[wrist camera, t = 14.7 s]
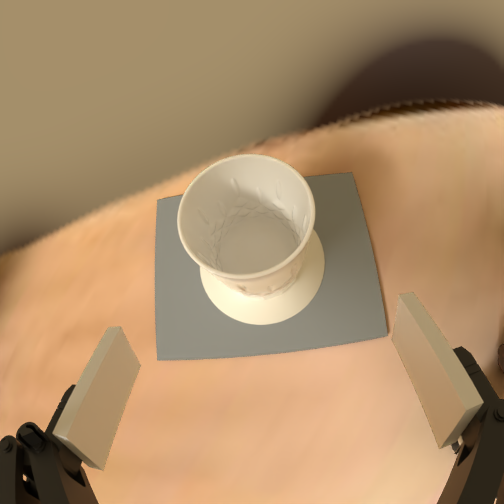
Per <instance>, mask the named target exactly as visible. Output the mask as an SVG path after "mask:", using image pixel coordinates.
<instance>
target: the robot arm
mask: <svg viewBox="0 0 504 504" xmlns="http://www.w3.org/2000/svg"><path fill="white" fill-rule="evenodd" d="M392 341H393V343H394V345H395V347H396V349H397V351H398V353H399V355H400V358H401V360H402V362H403V364H404V366H405V368H406V370H407V373H408V375H409V377H410V379H411V381H412V384H413V386H414V388H415V390H416V393H417V395H418V397H419V400H420V402H421V404H422V407H423V409H424V411H425V414H426V416H427V419H428V421H429V424H430V426H431V429H432V431H433V434H434V436H435V439H436V442H437V444H438V447H439V449H441V448H443V447H446V446H448V445H450V444H453V443H455V442H456V441H457V440H458V438H459V437H460V436H462V438H463V440H464V441H463V442H462V444H461V445H460V446H459V447H458V449H457V450H456V452H455V453H454V454H457V453H458V452H459V453H458V456H457V459H456V461H455V464H454V466H453V469H452V471H451V474H450V476H449V479H448V481H447V483H446V485H445V488H444V490H443V492H442V494H441V496H440V498H439V500H438V502H437V504H494V501H495V498H496V495H497V501H496V504H504V399H499V397H498V396H497V395H496V393H495V391H494V390H493V388H492V386H491V384H490V383H489V381H488V380H487V378H486V376H485V375H484V373H483V371H481V368H480V367H479V365H478V364H477V362H476V361H475V359H474V357H473V356H472V354H471V353H470V352H468V351H467V350H466V349H464V348H463V347H462V346H461V347H458V348H455V349H452V348H451V346H450V345H449V343H448V342H447V340H446V339H445V337H444V336H443V334H442V333H441V331H440V330H439V328H438V327H437V325H436V324H435V322H434V321H433V319H432V318H431V316H430V315H429V314H428V312H427V311H426V309H425V308H424V306H423V305H422V304H421V302H420V301H419V299H418V298H417V297H416V295H415V294H414V293H413V292H411V293H406V294H401V295H399V297H398V304H397V311H396V317H395V324H394V330H393V335H392ZM140 367H141V365H140V363H139V361H138V359H137V357H136V355H135V353H134V352H133V350H132V348H131V346H130V344H129V342H128V340H127V338H126V336H125V334H124V332H123V330H122V328H121V327H108V329H107V330H106V332H105V334H104V336H103V337H102V339H101V341H100V342H99V344H98V346H97V348H96V349H95V351H94V353H93V355H92V357H91V358H90V360H89V362H88V364H87V366H86V367H85V369H84V371H83V373H82V375H81V377H80V379H79V380H78V382H77V384H76V385H72V386H71V387H70V388H69V389H68V390H67V391H66V392H65V393H64V395H63V397H62V399H61V402H60V403H59V405H58V409H56V411H55V413H54V415H53V417H52V419H51V421H50V423H49V425H48V427H47V429H46V431H45V433H44V432H43V431H42V430H41V429H40V428H39V427H38V426H37V425H36V424H35V423H33V422H27V423H25V424H23V425H22V426H21V427H20V428H19V429H18V431H17V433H16V438H14V437H13V436H10V435H8V436H5V437H4V438H3V439H2V440H1V441H0V504H98V501H97V499H96V497H95V495H94V493H93V490H92V488H91V486H90V483H89V481H88V479H87V476H86V474H85V471H84V469H83V468H82V466H81V463H82V461H83V462H84V463H85V464H87V465H88V466H89V467H91V468H95V469H99V470H103V471H104V467H105V464H106V461H107V458H108V455H109V452H110V449H111V446H112V443H113V440H114V437H115V434H116V431H117V428H118V426H119V423H120V420H121V417H122V414H123V412H124V409H125V406H126V403H127V401H128V398H129V395H130V393H131V390H132V387H133V385H134V382H135V379H136V377H137V374H138V372H139V369H140ZM23 474H24V475H25V476H26V477H27V480H26V481H24V480H23ZM497 492H498V494H497Z"/></svg>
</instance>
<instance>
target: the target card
mask: <svg viewBox="0 0 504 504" xmlns="http://www.w3.org/2000/svg"><path fill="white" fill-rule="evenodd" d="M303 178H304V179H305V181H306V182H307V184H308V185H309V187H310V189H311V192H312V195H313V198H314V202H315V222H314V227H313V230H312V234H311V237H310V241H309V244H308V248H307V251H306V255H305V258H304V261H303V263H302V266H301V269H300V271H299V272H298V274H297V277H296V280H295V282H294V283H293V284H292V285H291V286H290V287H289V288H288V289H287V290H286V291H285V292H284V293H283V294H282V295H279V296H276V297H273V298H270V299H267V300H257V299H248V298H246V297H244V296H242V295H241V294H239V293H237V292H235V291H233V290H231V289H230V288H228V287H226V286H225V285H224V284H222V283H221V282H220V281H219V280H217V279H216V278H215V277H214V276H212V275H211V274H210V273H209V272H207V271H206V270H205V269H204V268H202V267H201V266H200V265H199V264H197V263H196V262H195V261H194V260H193V259H192V258H191V257H190V255H189V254H188V253H187V251H186V250H185V248H184V246H183V244H182V242H181V239H180V236H179V232H178V225H177V217H178V209H179V205H180V202H181V199H182V197H183V195H180V196H174V197H169V198H164V199H159V200H157V217H156V241H155V321H156V345H157V360H197V359H217V358H233V357H246V356H257V355H268V354H277V353H286V352H294V351H302V350H310V349H317V348H324V347H330V346H336V345H343V344H348V343H354V342H360V341H365V340H370V339H375V338H380V337H385V336H388V333H387V326H386V319H385V313H384V307H383V301H382V295H381V290H380V284H379V279H378V274H377V269H376V264H375V259H374V255H373V250H372V246H371V241H370V237H369V233H368V229H367V225H366V221H365V217H364V213H363V209H362V205H361V202H360V198H359V195H358V191H357V188H356V184H355V181H354V177H353V174H352V172H350V173H339V174H328V175H319V176H309V177H303Z"/></svg>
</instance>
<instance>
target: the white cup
mask: <svg viewBox="0 0 504 504" xmlns="http://www.w3.org/2000/svg"><path fill="white" fill-rule="evenodd" d="M314 222H315V202H314V198H313V195H312V192H311V189H310V187H309V185H308V184H307V182H306V181H305V179H304V178H303V177H302V175H301V174H300V173H299V172H298V171H297V170H295V169H294V168H293V167H292V166H290V165H289V164H287V163H285V162H283V161H281V160H279V159H277V158H274V157H271V156H267V155H261V154H241V155H235V156H231V157H228V158H225V159H222V160H220V161H217V162H215V163H214V164H212V165H210V166H209V167H207V168H206V169H204V170H203V171H202V172H201V173H200V174H198V175H197V176H196V177H195V179H194V180H193V181H192V182H191V183H190V185H189V186H188V188H187V189H186V191H185V193H184V195H183V197H182V199H181V202H180V205H179V209H178V217H177V225H178V232H179V236H180V239H181V242H182V244H183V246H184V248H185V250H186V251H187V253H188V254H189V255H190V257H191V258H192V259H193V260H194V261H195V262H196V263H197V264H199V265H200V266H201V267H202V268H204V269H205V270H206V271H207V272H209V273H210V274H211V275H212V276H214V277H215V278H216V279H217V280H219V281H220V282H221V283H222V284H224V285H225V286H226V287H228V288H230V289H231V290H233V291H235V292H237V293H239V294H241V295H242V296H244V297H246V298H248V299H257V300H267V299H270V298H273V297H276V296H279V295H282V294H283V293H284V292H285V291H286V290H287V289H288V288H289V287H290V286H291V285H292V284H293V283H294V282H295V280H296V277H297V274H298V272H299V271H300V269H301V266H302V263H303V261H304V258H305V255H306V251H307V248H308V244H309V241H310V237H311V234H312V230H313V227H314Z"/></svg>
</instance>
